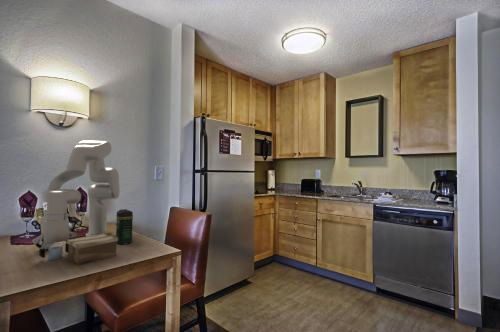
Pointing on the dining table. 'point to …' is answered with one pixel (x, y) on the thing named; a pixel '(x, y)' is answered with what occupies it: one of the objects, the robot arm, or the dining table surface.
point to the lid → (93, 240)
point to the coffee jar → (124, 226)
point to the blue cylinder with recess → (55, 252)
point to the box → (91, 253)
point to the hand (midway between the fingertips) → (55, 254)
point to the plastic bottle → (41, 230)
